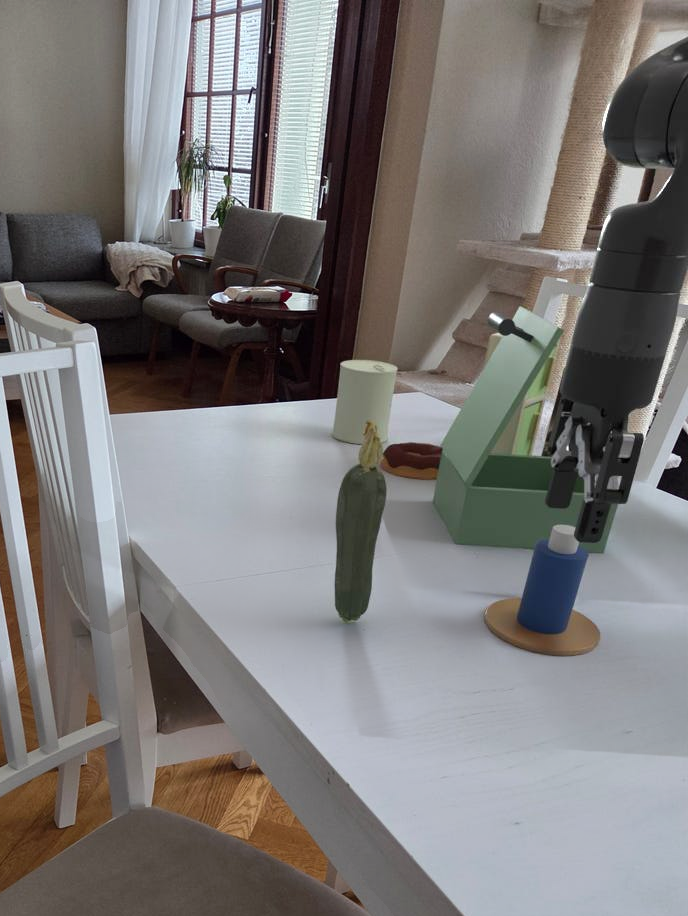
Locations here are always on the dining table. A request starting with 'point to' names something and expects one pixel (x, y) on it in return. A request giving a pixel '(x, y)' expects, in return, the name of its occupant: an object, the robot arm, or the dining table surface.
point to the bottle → (552, 582)
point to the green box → (507, 503)
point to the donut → (412, 460)
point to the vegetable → (359, 527)
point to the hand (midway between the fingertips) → (570, 523)
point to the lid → (499, 388)
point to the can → (363, 399)
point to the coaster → (570, 642)
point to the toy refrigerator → (524, 408)
